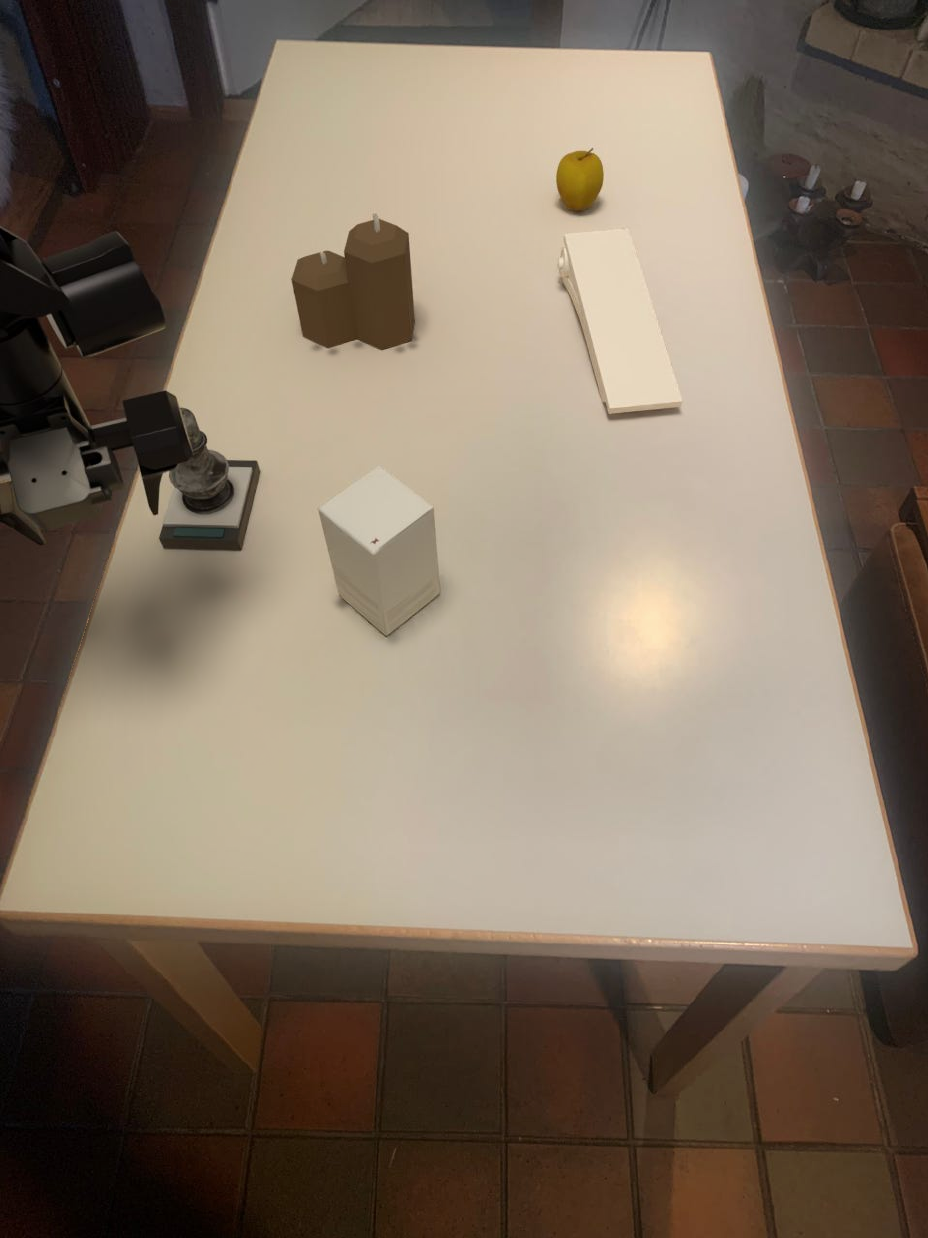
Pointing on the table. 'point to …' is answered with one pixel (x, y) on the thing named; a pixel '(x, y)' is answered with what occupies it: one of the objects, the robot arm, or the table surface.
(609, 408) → the wall bracket
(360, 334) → the candle
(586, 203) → the apple
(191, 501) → the pepper mill
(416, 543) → the white packaging box
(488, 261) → the table surface
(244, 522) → the kitchen scale
